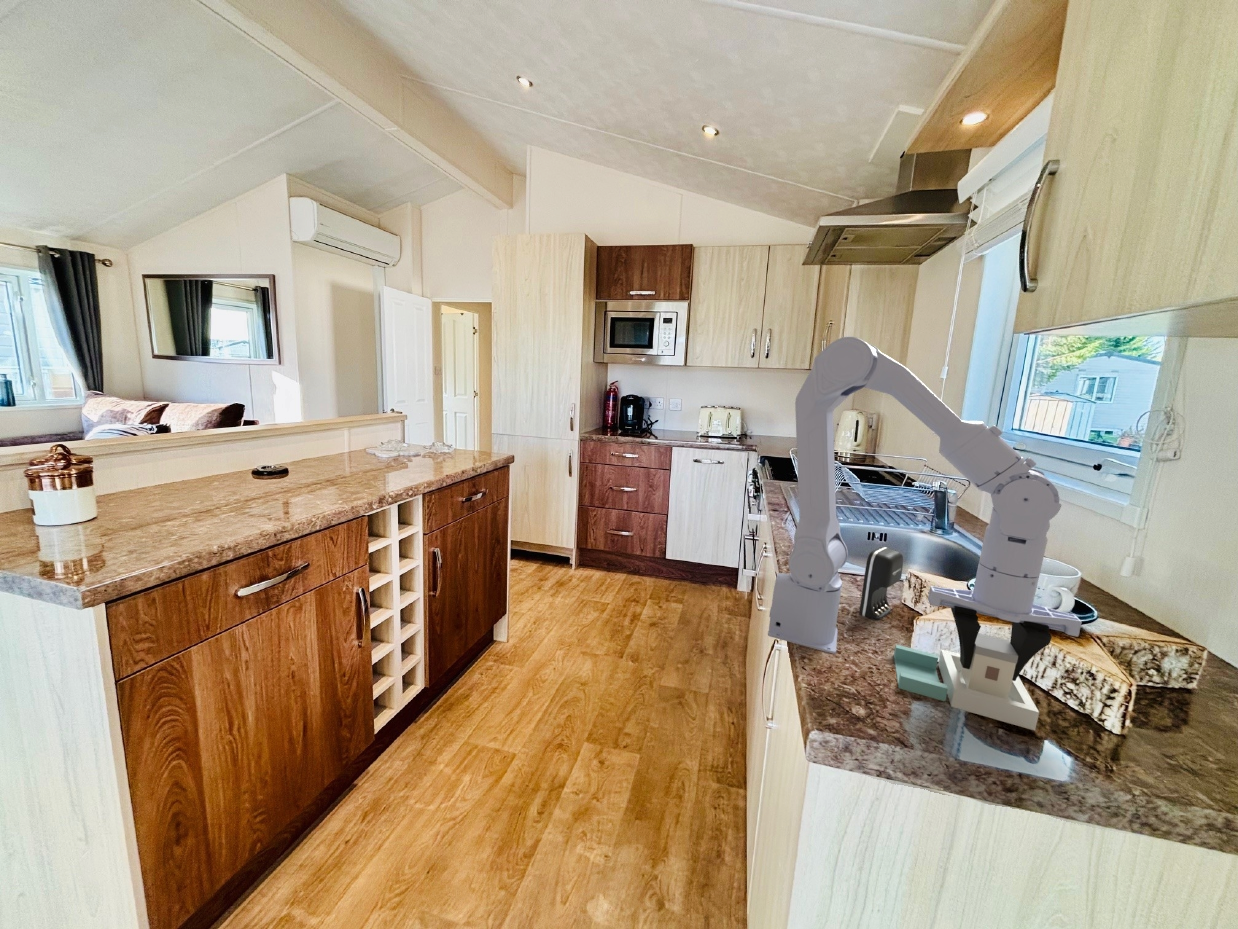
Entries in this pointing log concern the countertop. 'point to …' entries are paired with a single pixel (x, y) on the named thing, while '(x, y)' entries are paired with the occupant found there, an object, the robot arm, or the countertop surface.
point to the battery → (879, 581)
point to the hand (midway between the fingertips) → (986, 670)
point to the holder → (918, 672)
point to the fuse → (991, 666)
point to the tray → (987, 696)
